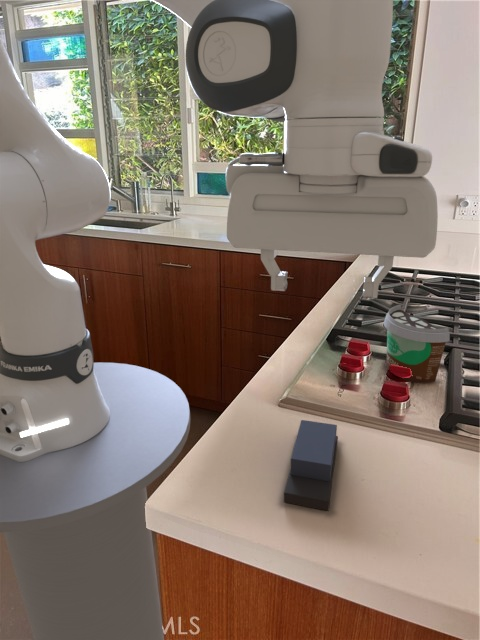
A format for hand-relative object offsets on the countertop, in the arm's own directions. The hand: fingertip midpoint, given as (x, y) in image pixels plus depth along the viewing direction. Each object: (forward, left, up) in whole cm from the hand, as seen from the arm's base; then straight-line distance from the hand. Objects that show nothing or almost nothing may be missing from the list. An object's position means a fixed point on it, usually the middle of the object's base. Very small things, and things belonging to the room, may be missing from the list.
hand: (323, 292), depth 49 cm
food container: (+12, +28, -23) cm, 38 cm away
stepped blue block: (0, 0, -23) cm, 23 cm away
